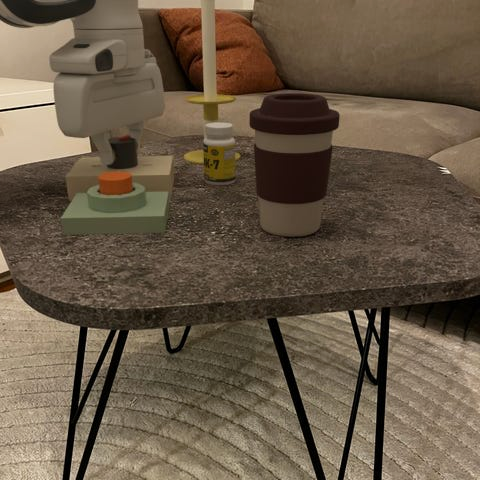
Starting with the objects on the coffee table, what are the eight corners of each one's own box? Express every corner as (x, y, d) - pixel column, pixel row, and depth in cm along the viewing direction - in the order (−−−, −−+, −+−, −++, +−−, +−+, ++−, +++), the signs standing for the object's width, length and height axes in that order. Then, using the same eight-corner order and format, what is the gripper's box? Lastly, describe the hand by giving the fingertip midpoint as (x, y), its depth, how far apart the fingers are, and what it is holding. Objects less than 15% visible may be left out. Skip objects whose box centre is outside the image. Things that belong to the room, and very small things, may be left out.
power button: (97, 197, 71) (95, 180, 70) (102, 187, 74) (100, 171, 73) (131, 196, 71) (129, 179, 70) (134, 187, 74) (133, 171, 73)
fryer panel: (68, 201, 81) (65, 175, 79) (83, 180, 91) (80, 156, 89) (170, 199, 82) (169, 173, 80) (174, 178, 92) (173, 154, 90)
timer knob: (125, 170, 82) (123, 142, 80) (100, 166, 84) (97, 139, 82) (143, 163, 86) (141, 136, 84) (119, 160, 87) (116, 133, 85)
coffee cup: (333, 216, 75) (342, 91, 68) (328, 245, 66) (339, 105, 59) (256, 212, 77) (257, 89, 69) (242, 239, 68) (242, 102, 61)
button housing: (63, 235, 69) (57, 202, 68) (78, 209, 78) (74, 179, 76) (165, 233, 70) (163, 200, 68) (169, 207, 79) (167, 177, 77)
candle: (239, 164, 99) (238, -21, 86) (180, 164, 99) (170, -21, 87) (241, 150, 108) (240, -20, 95) (187, 150, 108) (179, -19, 95)
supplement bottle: (197, 182, 90) (195, 124, 86) (220, 176, 93) (219, 120, 89) (219, 188, 87) (218, 129, 83) (242, 182, 90) (241, 124, 86)
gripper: (135, 47, 87) (143, 143, 94) (38, 58, 71) (56, 172, 77) (172, 48, 85) (177, 146, 91) (81, 59, 69) (95, 178, 75)
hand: (121, 159), depth 84 cm, fingers closed on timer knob, 4 cm apart
